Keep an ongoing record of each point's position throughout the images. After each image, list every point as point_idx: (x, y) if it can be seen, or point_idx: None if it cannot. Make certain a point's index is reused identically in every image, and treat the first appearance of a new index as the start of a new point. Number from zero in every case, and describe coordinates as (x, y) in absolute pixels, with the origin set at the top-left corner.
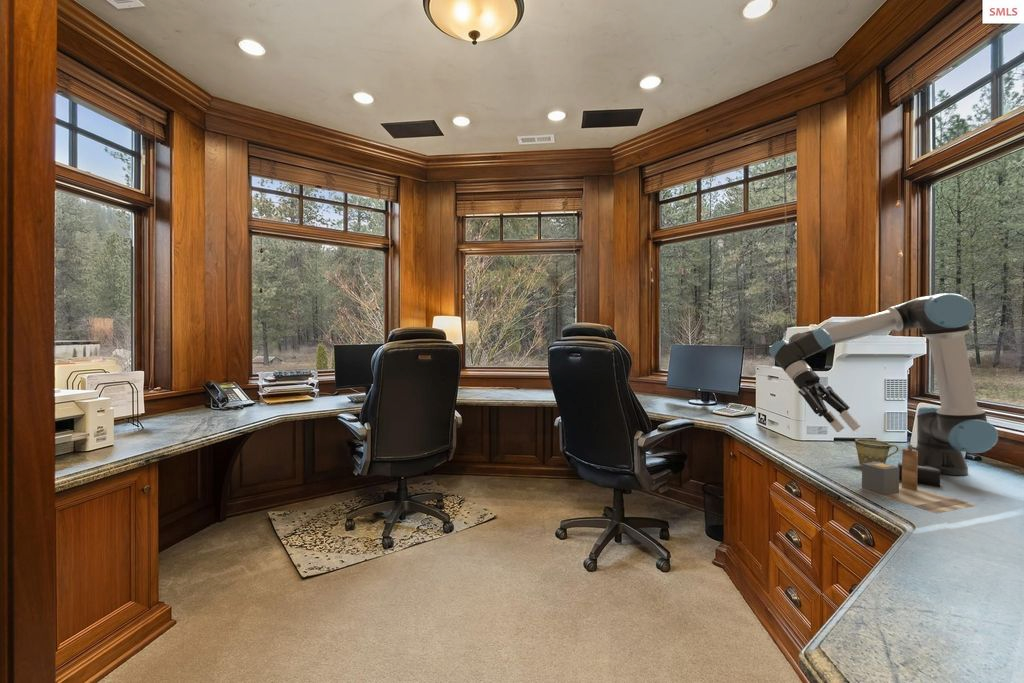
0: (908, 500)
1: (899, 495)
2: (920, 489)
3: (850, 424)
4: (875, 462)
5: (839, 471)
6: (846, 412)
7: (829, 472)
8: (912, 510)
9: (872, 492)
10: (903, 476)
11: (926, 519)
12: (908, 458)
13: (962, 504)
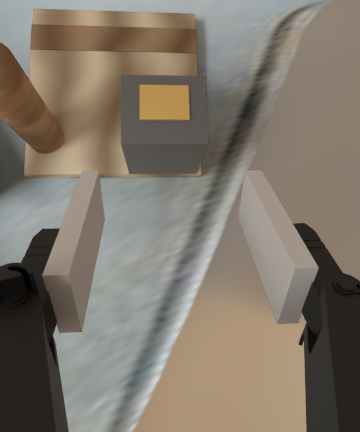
0: None
1: None
2: None
3: (96, 230)
4: (142, 138)
5: None
6: (74, 257)
7: (97, 347)
8: (200, 61)
9: None
10: (51, 128)
11: (227, 23)
12: (26, 77)
13: (62, 22)
